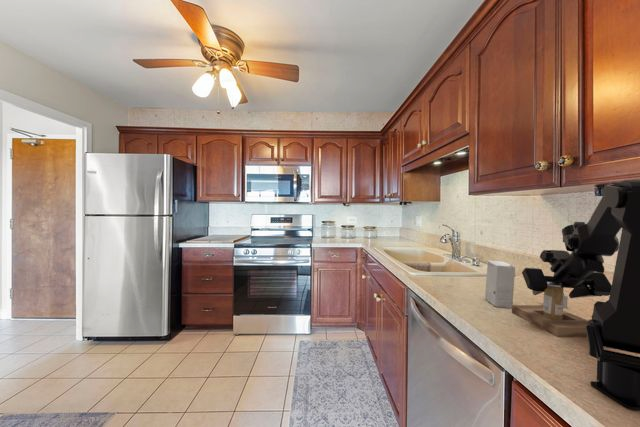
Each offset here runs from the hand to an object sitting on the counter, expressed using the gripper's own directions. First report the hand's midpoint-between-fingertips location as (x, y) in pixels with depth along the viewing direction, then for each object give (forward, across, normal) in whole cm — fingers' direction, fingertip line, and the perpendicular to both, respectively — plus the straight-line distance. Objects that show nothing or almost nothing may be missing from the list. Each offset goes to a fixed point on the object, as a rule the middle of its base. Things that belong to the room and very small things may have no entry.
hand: (551, 295), depth 78 cm
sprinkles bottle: (+5, 0, +7) cm, 8 cm away
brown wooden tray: (+5, 0, +7) cm, 8 cm away
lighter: (+17, -9, -5) cm, 20 cm away
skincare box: (+15, +9, -3) cm, 18 cm away
